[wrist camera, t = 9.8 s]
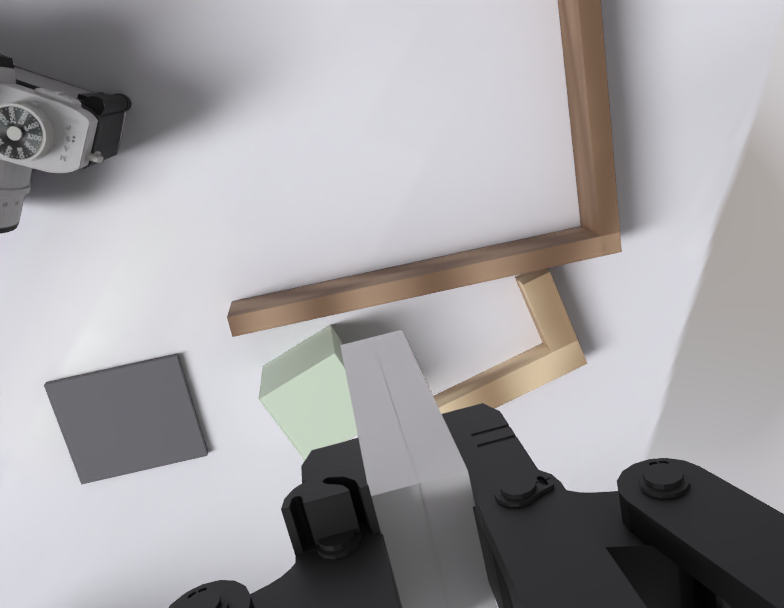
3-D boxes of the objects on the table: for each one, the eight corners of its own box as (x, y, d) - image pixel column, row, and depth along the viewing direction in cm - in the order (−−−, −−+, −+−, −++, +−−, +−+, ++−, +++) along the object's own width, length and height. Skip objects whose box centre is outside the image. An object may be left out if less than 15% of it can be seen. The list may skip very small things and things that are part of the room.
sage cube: (306, 424, 46) (307, 464, 41) (262, 365, 44) (258, 399, 40) (372, 385, 46) (380, 420, 41) (330, 324, 44) (334, 353, 39)
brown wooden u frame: (236, 319, 43) (232, 336, 40) (125, -87, 36) (110, -101, 33) (600, 240, 45) (621, 251, 42) (563, -165, 37) (584, -186, 35)
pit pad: (83, 480, 45) (81, 484, 45) (46, 382, 43) (43, 385, 42) (208, 452, 46) (207, 455, 45) (177, 353, 43) (176, 356, 43)
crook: (386, 445, 47) (390, 459, 45) (341, 361, 45) (343, 372, 43) (576, 353, 47) (587, 363, 45) (540, 264, 45) (549, 271, 43)
